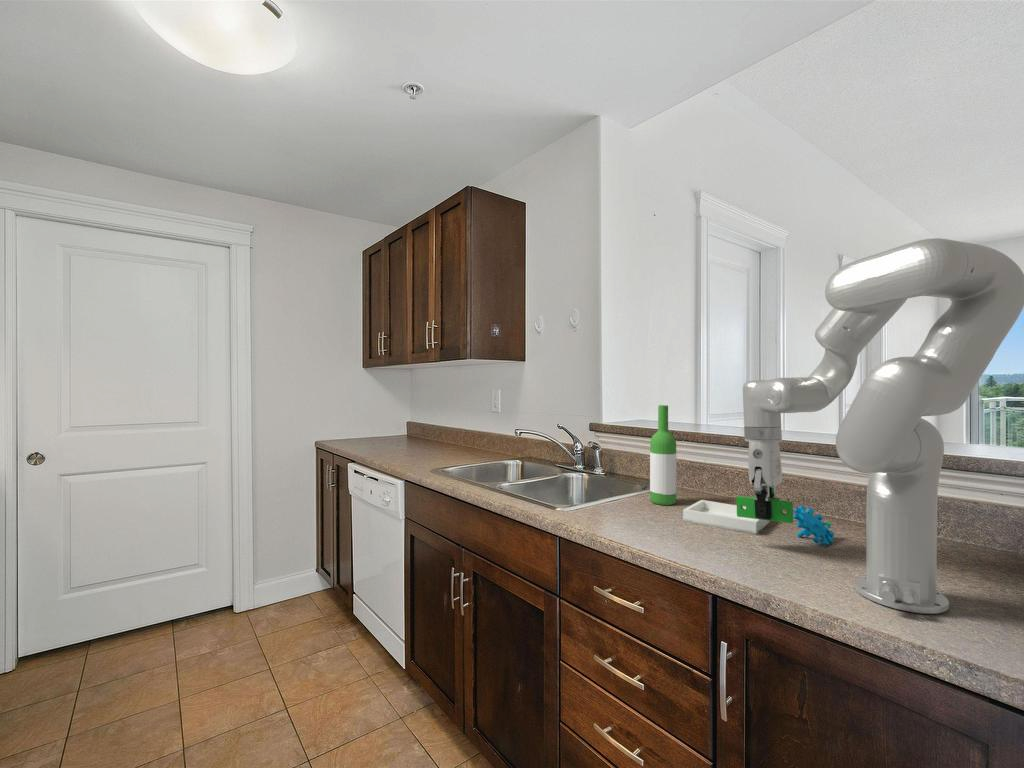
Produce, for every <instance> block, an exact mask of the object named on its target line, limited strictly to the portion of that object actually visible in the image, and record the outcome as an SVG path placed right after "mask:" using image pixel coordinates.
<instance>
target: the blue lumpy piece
mask: <svg viewBox="0 0 1024 768" xmlns="http://www.w3.org/2000/svg"><path fill="white" fill-rule="evenodd" d="M793 511H794V512H793V520H794V519H795V520H797V522H796V527H797V528H799V529H800V528H801V530H800V531H799V532H798V533H796V536H797V537H798V538H802V537H803V536H805V537H807V538H809V537H810V536H811V535H813V536H814V537H813V538H812V541H813V542H814V543H815V544H816V545H817V544H819V543H821V545H823V546H825V547H826V546H828V545H830V544H832V543H833V542H835V539H834V538H833V537H834V536H835V532H834V531H832V530H829V529H830V528H831V527H832V525H833V523H832V522H831V521H830V520H828V521H827V522H824V521H822V520H823V519H824V517H823V516H822V514H821V513H818V514H817V515H814V513H815V510H814V509H813V508H811V507H809V508H807V507H806V506H804V505H800V506H799V507H798V506H797V507H796V508H793Z"/></svg>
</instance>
